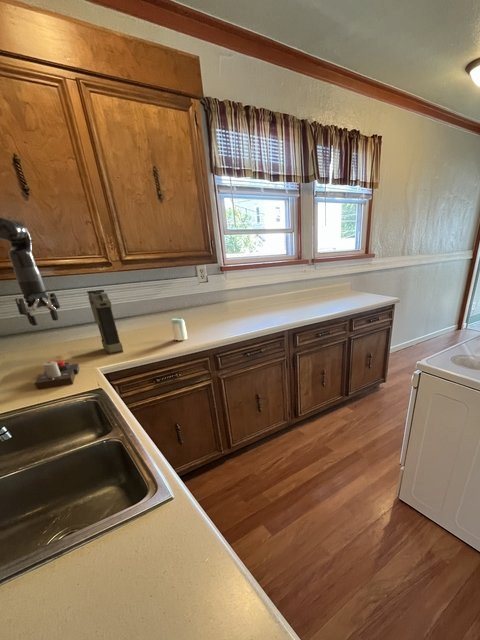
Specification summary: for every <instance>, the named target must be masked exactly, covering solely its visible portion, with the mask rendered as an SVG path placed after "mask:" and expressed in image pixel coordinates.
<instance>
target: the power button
mask: <svg viewBox="0 0 480 640" xmlns="http://www.w3.org/2000/svg"><path fill="white" fill-rule="evenodd" d="M55 362H57V365H58V367H59V366H63V365H65V363H64V362H65V361H64V360H56V361H55Z"/></svg>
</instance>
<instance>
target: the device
mask: <svg viewBox="0 0 480 640" xmlns="http://www.w3.org/2000/svg"><path fill="white" fill-rule="evenodd" d="M86 293H87V294H86V295H87V296H88V302H89V304H90V308H91V312H92V316H93V318H94V322H95V324H97V327H98V330H99V334H100V338H101V345H102V347H103V350H104V351H105V352H106V353H107V354H109V355H115V354H120V353H124V349H123V345H122V342H121V341H120V337H119V333H118V332H119V331H118V328H117V325H116V321H115V318H114V314H113V310H112V301H111V300H110V298H109V296H108V293H107V292H105V290H104V289H96V290H95V289H94V290H87V291H86Z"/></svg>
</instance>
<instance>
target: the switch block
mask: <svg viewBox="0 0 480 640" xmlns="http://www.w3.org/2000/svg"><path fill="white" fill-rule="evenodd" d="M64 363H65V365H63V366H59V367H58V368H59V371H67V370H73V371H74V374H75V375H79V371H80V365H79V363H73V364H70V363H69V362H66V361H64ZM43 374H47V373H46V371H45V370H44V372H43Z"/></svg>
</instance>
